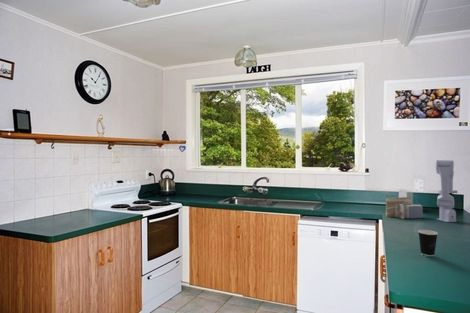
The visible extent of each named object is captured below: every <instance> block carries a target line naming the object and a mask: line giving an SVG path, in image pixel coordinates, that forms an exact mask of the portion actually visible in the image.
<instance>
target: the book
mask: <svg viewBox="0 0 470 313" xmlns="http://www.w3.org/2000/svg"><path fill="white" fill-rule="evenodd" d="M404 218H407V219H419V218H423V205H421V204H413V205H404Z"/></svg>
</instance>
